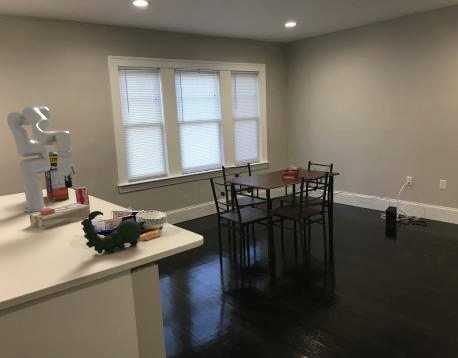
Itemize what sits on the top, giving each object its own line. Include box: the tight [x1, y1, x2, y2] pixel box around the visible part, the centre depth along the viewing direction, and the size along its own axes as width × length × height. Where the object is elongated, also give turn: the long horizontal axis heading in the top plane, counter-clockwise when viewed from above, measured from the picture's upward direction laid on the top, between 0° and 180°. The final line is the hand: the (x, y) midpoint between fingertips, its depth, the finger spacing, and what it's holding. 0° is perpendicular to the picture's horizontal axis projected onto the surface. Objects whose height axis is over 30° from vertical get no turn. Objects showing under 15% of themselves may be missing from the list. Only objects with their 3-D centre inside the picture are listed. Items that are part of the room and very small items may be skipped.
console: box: [28, 202, 91, 230], centre depth 198 cm, size 14×26×6 cm, turn 145°
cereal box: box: [44, 151, 70, 202], centre depth 258 cm, size 27×11×32 cm, turn 34°
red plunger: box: [39, 207, 55, 215], centre depth 192 cm, size 5×5×4 cm
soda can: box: [74, 186, 91, 207], centre depth 223 cm, size 7×7×13 cm
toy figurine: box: [81, 210, 146, 255], centre depth 149 cm, size 9×19×25 cm
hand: (68, 187), depth 202 cm, fingers closed
